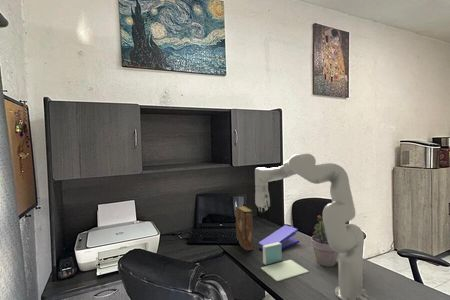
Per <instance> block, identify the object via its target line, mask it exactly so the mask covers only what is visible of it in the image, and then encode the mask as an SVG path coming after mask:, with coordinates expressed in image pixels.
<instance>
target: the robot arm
mask: <svg viewBox="0 0 450 300" xmlns="http://www.w3.org/2000/svg"><path fill="white" fill-rule="evenodd" d="M316 163H317V161H316V157H315V156H314V155H312V154H311V153H297V154H293V155H291V156H290V157H289V159H287V160H285V161H284V162H283V165H281V166H278V167H277V166H276V167H270V168H269V167H268V168H267V167H264V166H263V167H256V168H255V169H254V182H255V183H254V185H255V187H254V189H255V193H254V197H255V198H254V200H255V201H254V203H255V205H256V208H258V215H259V218H260V219H262V220H264V219H265V218H266V211H268V209H269V208H270V207H271V198H270V192H269V183H270V182H273V181H279V180H283V179H286V178H289V177H293V176H295V175H297V176H300V177H301V178H303V179H304V180H306V181H308V182H310V183H312V184H317V185H318V184H324V183H327V182H330V187H329V192H330V198H331V202H329V203H327V204H325V206H324V207H323V210H322V217H323V218H322V219H323V222H324V227H325V232H326V237H327V241H328V244H329V246H330V247H331V248H332V249H333V250H334V251H335V252H338V255H337V264H338V265H337V268H338V269H337V271H338V275H337V276H338V277H337V278H338V286H336V287H335V289H334V294H335V296H336V297H337V298H338V299H340V300H370V299H371V297H370V296H368V294H366V289H364V288H363V252H364V251H363V249H364V244H365V235H364V232H363V230H362V229H361V227H359V226H358V225H356V224H354V223H349V222H350V221H352V220H354V219H355V217H356V208H355V204H354V200H353V199H354V198H353V193H352V190H351V186H350V181H349V180H350V179H349V176H348V172H347V171H346V169H345V168H344V167H342V166H340V165H339V164H336V163H330V162H328V163H327V162H326V163H321V164H316Z"/></svg>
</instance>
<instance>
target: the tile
mask: <svg viewBox="0 0 450 300" xmlns="http://www.w3.org/2000/svg"><path fill="white" fill-rule="evenodd" d="M282 252H283V251H282V249H281V243H279V242H277V243H273V244H268V245H264V246H263V250H262V264H264V265H265V266H268V265H272V264H276V263H279V262H283V261H282V259H283V258H282V257H283V254H282Z"/></svg>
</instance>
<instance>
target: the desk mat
mask: <svg viewBox="0 0 450 300" xmlns="http://www.w3.org/2000/svg"><path fill="white" fill-rule="evenodd" d="M260 269H261V270H262V271H263V272H264V273H266V274H267V275H268V276H269V277H271V278H272V280H275V281H276V282H277V283H278V282H281V281H284V280H287V279H291V278H294V277H297V276H302V275H304V274H307V273H309V272H310V271H309V270H308V269H306V268H305V267H303V266H301V265H300V264H298V263H297V262H295V261H294V260H292V259H288V260H284V261H279V262H275V263H271V264H267V265H265V266H262V267H260Z"/></svg>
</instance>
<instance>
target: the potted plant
mask: <svg viewBox="0 0 450 300" xmlns="http://www.w3.org/2000/svg"><path fill="white" fill-rule="evenodd" d="M316 221H318V223H316V224H314V230H315V231H313V235H312V236H311V238H310V241H311V247H312V249H313V251H314V256H315V259H316V260H315V261H316V263H317V264H318V265H320V266H323V267H333V266H336V262H337V260H338V252H335V251H334V250H333V249H332V248H331V247H330V246H329V244H328V241H327V237H326V232H325V227H324V222H323V216H321V215H320V214H319V215H317V220H316Z"/></svg>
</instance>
